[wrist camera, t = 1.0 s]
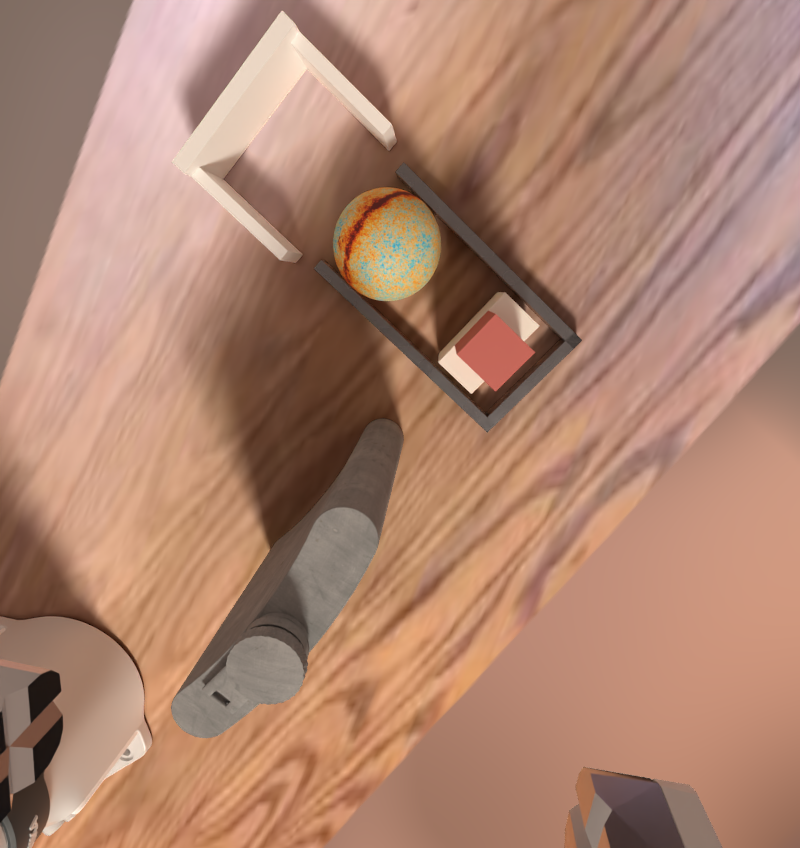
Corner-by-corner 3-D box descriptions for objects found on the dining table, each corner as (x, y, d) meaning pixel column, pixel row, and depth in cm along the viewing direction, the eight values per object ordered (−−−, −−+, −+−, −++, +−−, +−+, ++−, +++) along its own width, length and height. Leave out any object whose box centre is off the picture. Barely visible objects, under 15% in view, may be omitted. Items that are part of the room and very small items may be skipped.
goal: (295, 263, 39) (275, 259, 35) (205, 178, 39) (171, 162, 34) (397, 141, 37) (390, 119, 32) (303, 47, 36) (281, 10, 31)
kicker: (467, 381, 40) (476, 410, 31) (438, 353, 40) (437, 374, 30) (527, 321, 39) (555, 332, 29) (497, 291, 39) (516, 293, 29)
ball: (461, 254, 39) (465, 246, 32) (387, 320, 40) (377, 326, 33) (396, 174, 38) (386, 149, 31) (323, 245, 39) (298, 236, 32)
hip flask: (379, 410, 42) (325, 515, 22) (420, 442, 42) (403, 573, 23) (264, 556, 45) (133, 755, 26) (303, 584, 46) (203, 801, 26)
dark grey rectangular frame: (485, 427, 41) (487, 432, 40) (318, 269, 39) (313, 268, 38) (576, 338, 39) (582, 340, 38) (405, 167, 37) (403, 162, 36)
